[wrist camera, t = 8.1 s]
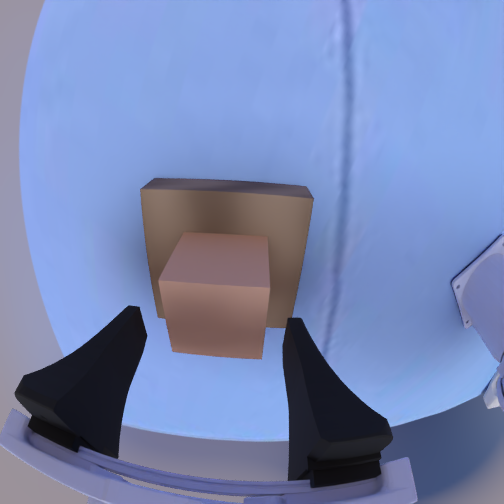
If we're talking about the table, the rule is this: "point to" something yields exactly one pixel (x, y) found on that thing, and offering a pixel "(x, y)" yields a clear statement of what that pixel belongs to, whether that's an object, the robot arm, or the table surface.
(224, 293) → the cube
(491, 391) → the white step stool
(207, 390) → the table surface
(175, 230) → the base block
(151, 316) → the table surface
